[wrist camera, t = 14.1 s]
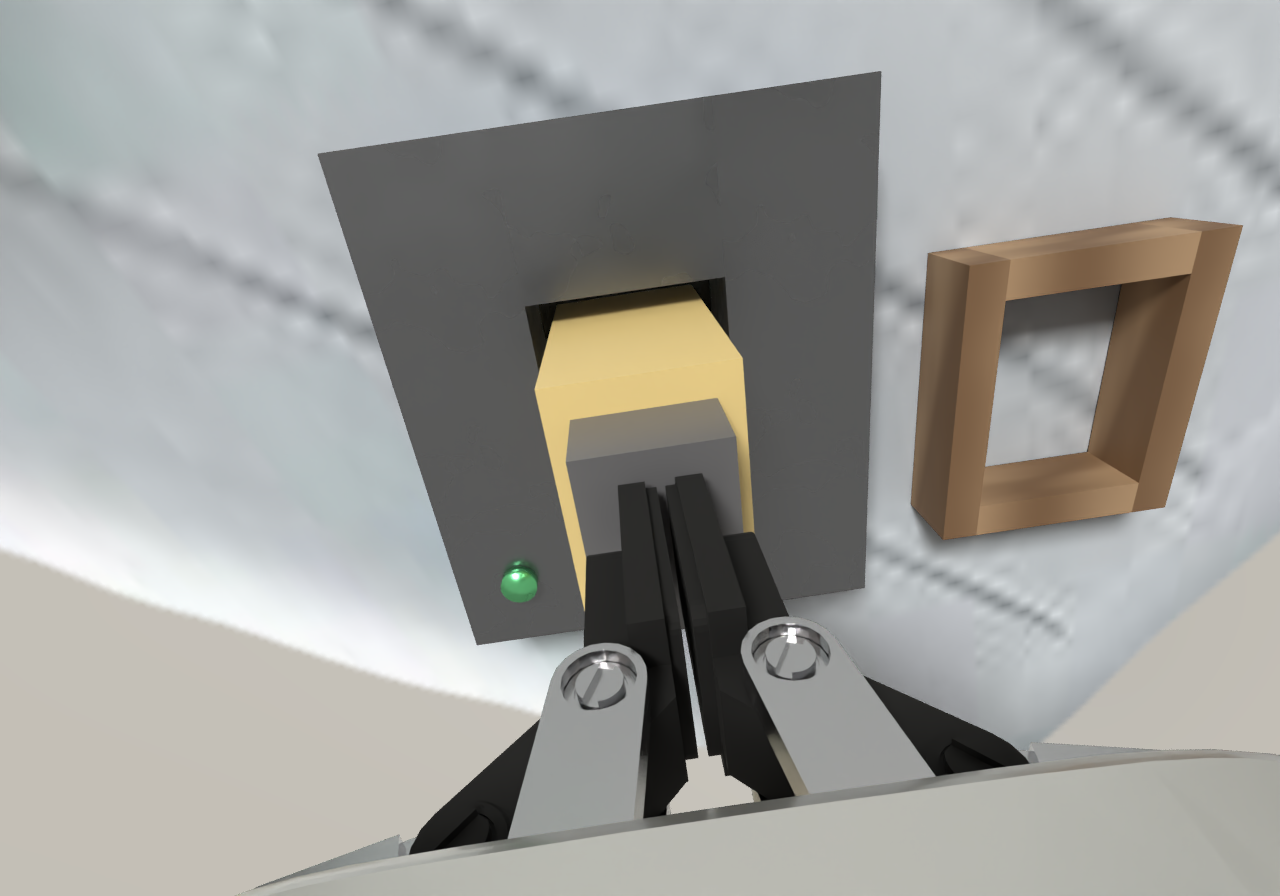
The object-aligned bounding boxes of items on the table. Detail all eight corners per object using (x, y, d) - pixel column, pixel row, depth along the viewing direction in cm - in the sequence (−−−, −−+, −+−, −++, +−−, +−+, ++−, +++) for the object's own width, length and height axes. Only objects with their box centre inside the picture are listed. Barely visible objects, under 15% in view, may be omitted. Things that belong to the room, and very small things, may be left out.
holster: (1170, 217, 20) (1243, 225, 18) (1112, 474, 24) (1164, 507, 22) (928, 253, 20) (969, 265, 18) (910, 504, 24) (943, 540, 22)
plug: (691, 284, 20) (765, 391, 11) (707, 448, 23) (778, 643, 14) (557, 304, 20) (524, 428, 11) (588, 466, 23) (583, 672, 14)
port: (838, 83, 18) (888, 68, 15) (835, 540, 25) (869, 595, 22) (359, 153, 18) (310, 154, 15) (490, 591, 25) (474, 653, 22)
